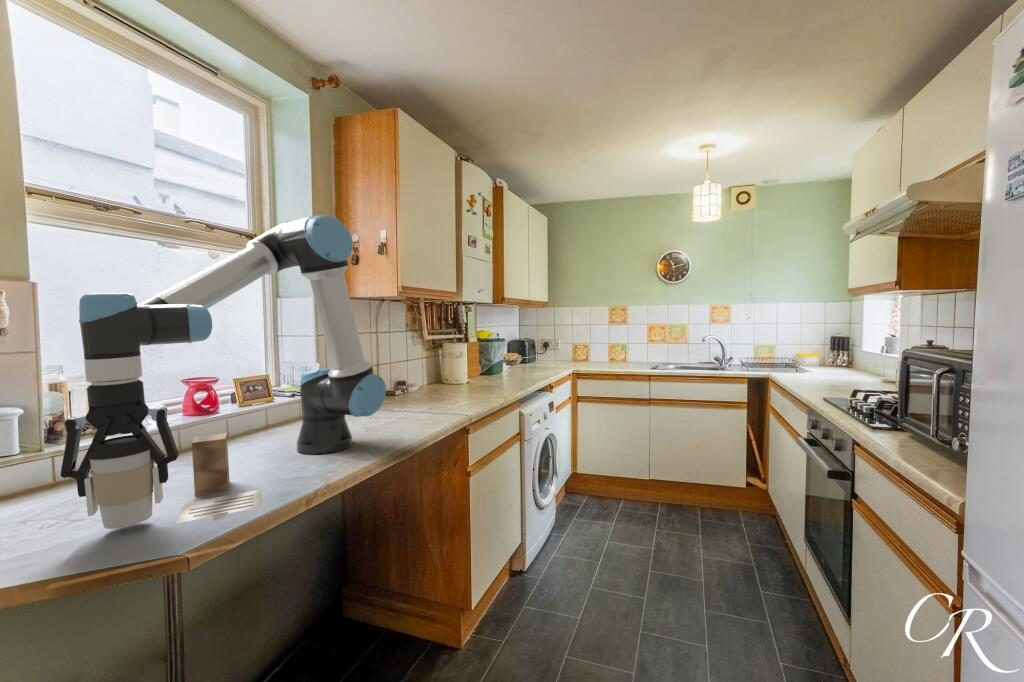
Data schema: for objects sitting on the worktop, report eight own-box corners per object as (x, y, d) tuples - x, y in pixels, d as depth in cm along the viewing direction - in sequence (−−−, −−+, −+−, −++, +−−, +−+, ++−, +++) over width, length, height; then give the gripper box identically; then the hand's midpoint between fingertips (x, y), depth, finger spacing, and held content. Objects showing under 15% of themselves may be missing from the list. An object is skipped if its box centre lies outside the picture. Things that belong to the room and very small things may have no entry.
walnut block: (229, 484, 106) (226, 432, 105) (228, 492, 100) (225, 438, 100) (198, 489, 103) (195, 436, 102) (195, 498, 98) (191, 442, 97)
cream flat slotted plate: (269, 488, 103) (269, 485, 103) (271, 511, 90) (271, 508, 90) (176, 504, 94) (176, 502, 94) (163, 533, 82) (163, 530, 81)
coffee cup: (84, 536, 76) (75, 448, 75) (106, 515, 85) (99, 435, 84) (151, 524, 80) (143, 440, 79) (166, 505, 88) (159, 428, 87)
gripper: (191, 373, 89) (201, 487, 90) (41, 385, 79) (54, 513, 80) (186, 377, 82) (196, 500, 84) (21, 391, 72) (36, 530, 74)
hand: (127, 506), depth 82 cm, fingers closed on coffee cup, 8 cm apart
